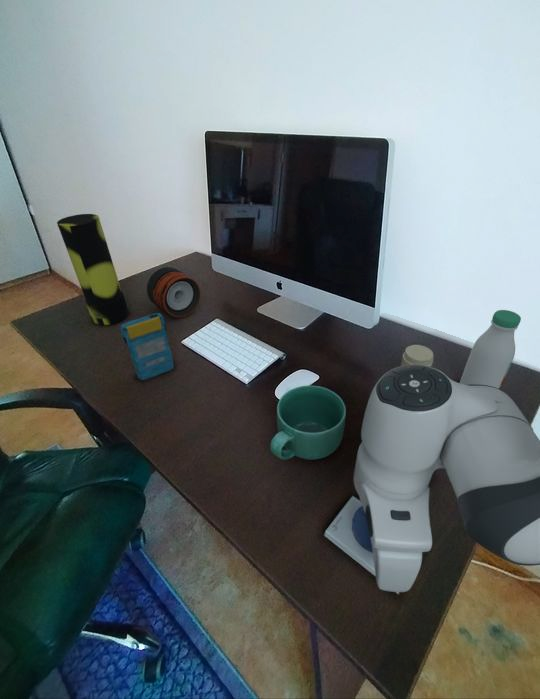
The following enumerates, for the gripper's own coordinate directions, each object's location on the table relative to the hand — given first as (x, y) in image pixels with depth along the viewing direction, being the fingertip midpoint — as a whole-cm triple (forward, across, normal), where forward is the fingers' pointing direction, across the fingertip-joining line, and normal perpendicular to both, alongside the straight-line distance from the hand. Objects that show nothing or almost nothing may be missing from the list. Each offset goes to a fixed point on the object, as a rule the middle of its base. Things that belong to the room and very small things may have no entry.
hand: (375, 531), depth 55 cm
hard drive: (+3, 0, 0) cm, 3 cm away
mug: (+3, -18, -11) cm, 21 cm away
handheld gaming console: (+3, -39, -48) cm, 62 cm away
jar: (+3, -36, +13) cm, 38 cm away
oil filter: (+4, -70, -52) cm, 87 cm away
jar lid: (-2, 0, 0) cm, 2 cm away
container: (+4, -64, -71) cm, 96 cm away
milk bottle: (+3, -35, +28) cm, 45 cm away
